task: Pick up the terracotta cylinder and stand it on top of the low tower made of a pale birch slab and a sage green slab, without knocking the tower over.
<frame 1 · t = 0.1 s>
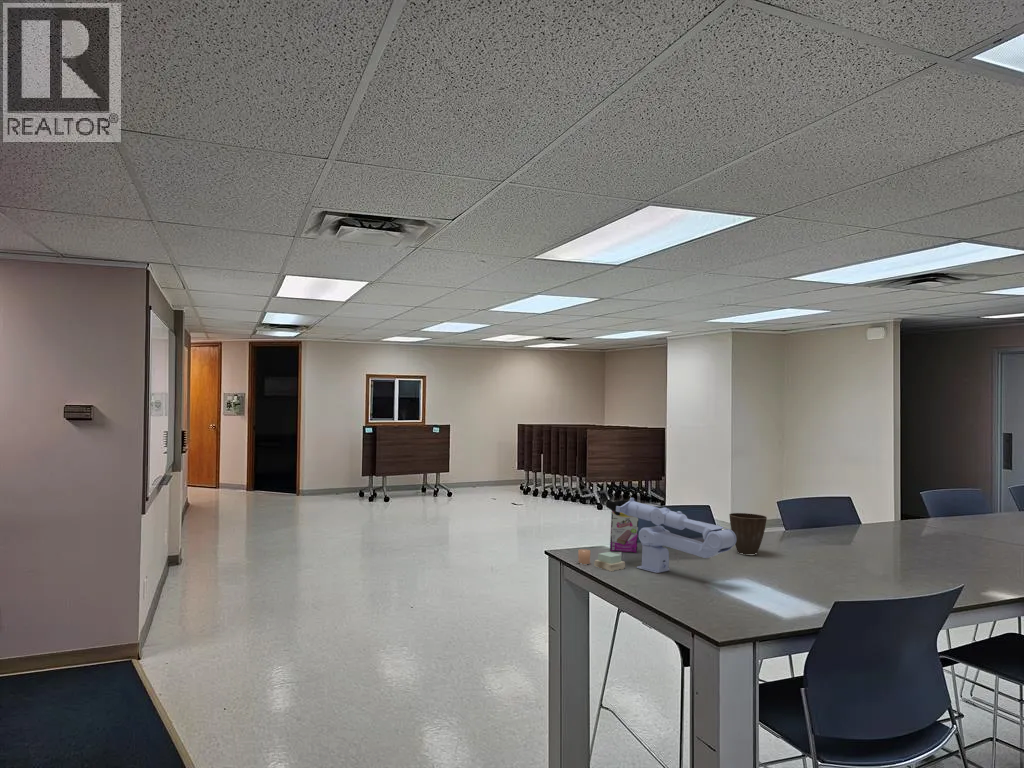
hand: (613, 503, 266), 22 cm above the table, tool horizontal, fingers open, 7 cm apart
tower base: (609, 569, 251), on the table, touching tower top
tower top: (609, 561, 251), point 2 cm above the table, touching tower base
candy bar box: (623, 551, 281), on the table
terracotta cylinder: (584, 563, 256), on the table
plant pot: (746, 554, 285), on the table
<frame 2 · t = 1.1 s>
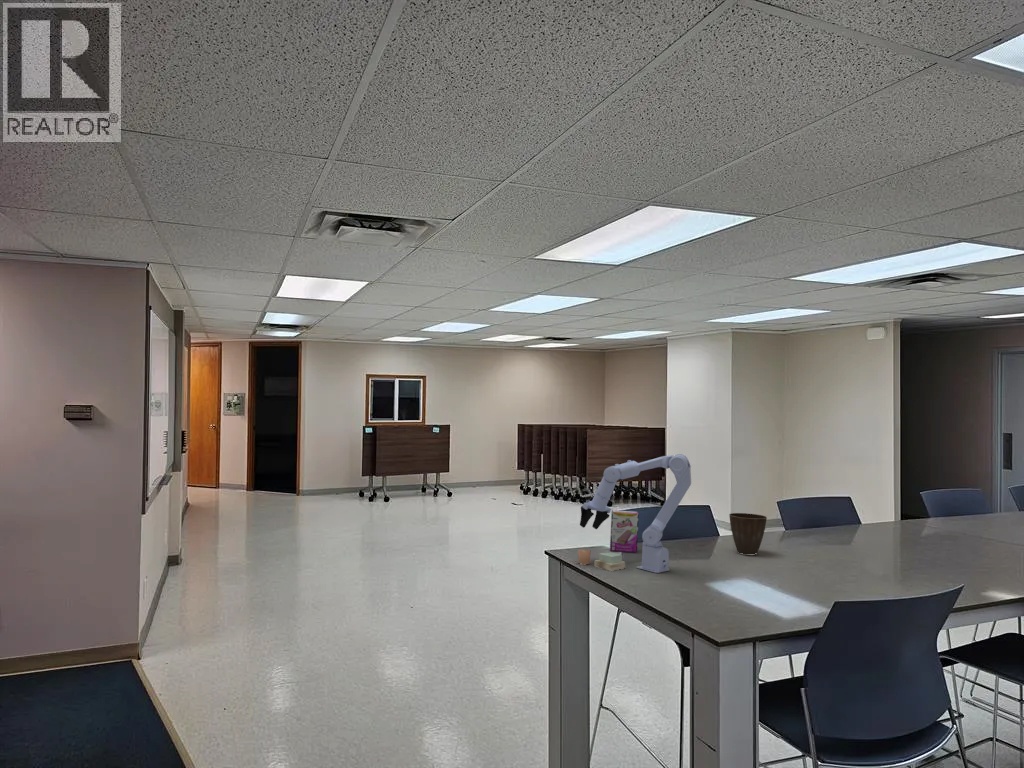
hand: (588, 527, 260), 13 cm above the table, tool tilted 20°, fingers open, 7 cm apart
nothing on the table moved.
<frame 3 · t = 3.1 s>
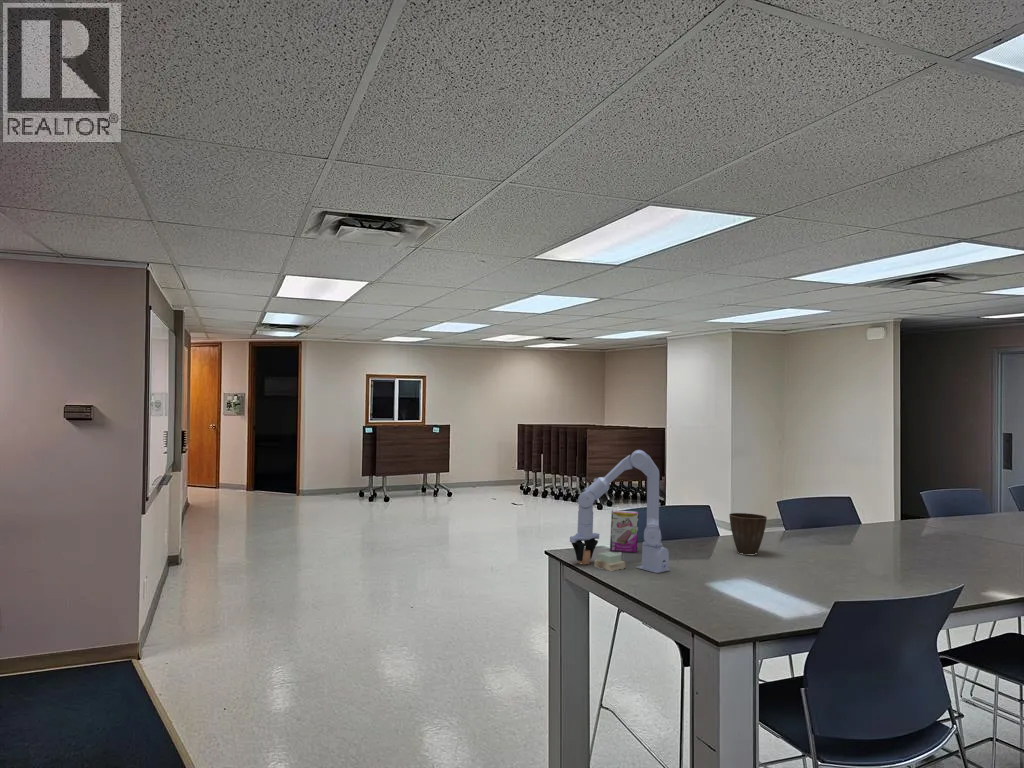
hand: (584, 559, 256), 1 cm above the table, tool pointing down, fingers closed on terracotta cylinder, 5 cm apart
terracotta cylinder: (583, 563, 256), on the table, touching gripper
everything else where it was.
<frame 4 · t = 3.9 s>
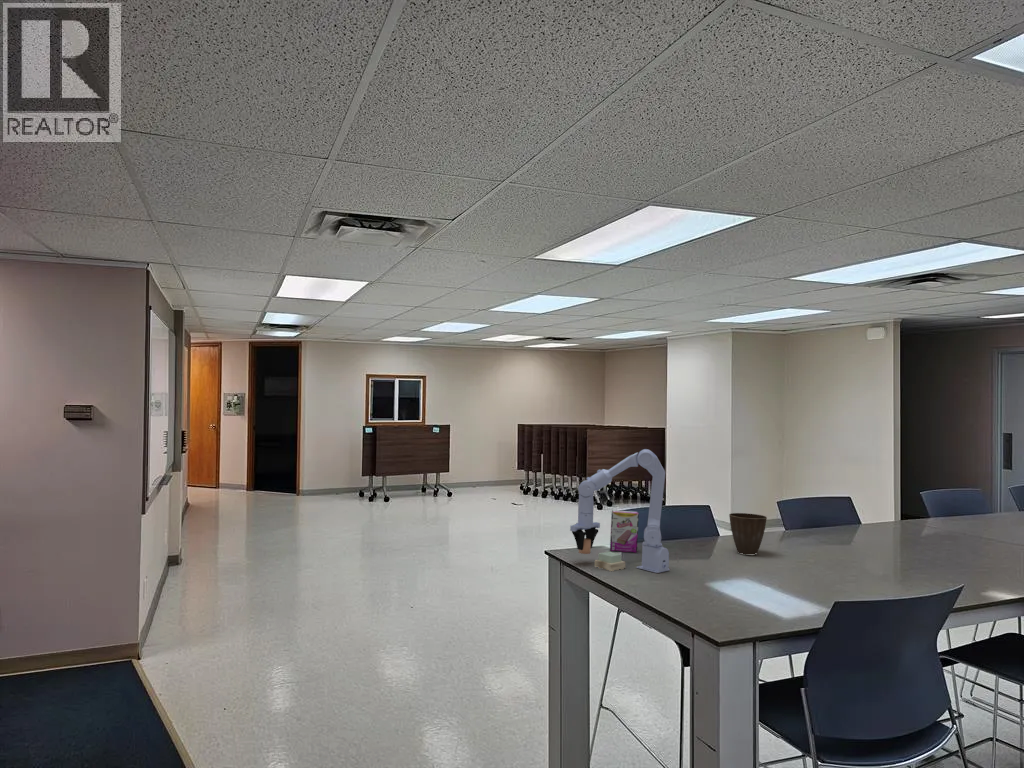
hand: (584, 548, 256), 6 cm above the table, tool pointing down, fingers closed on terracotta cylinder, 5 cm apart
terracotta cylinder: (584, 552, 256), point 4 cm above the table, touching gripper
everything else where it was.
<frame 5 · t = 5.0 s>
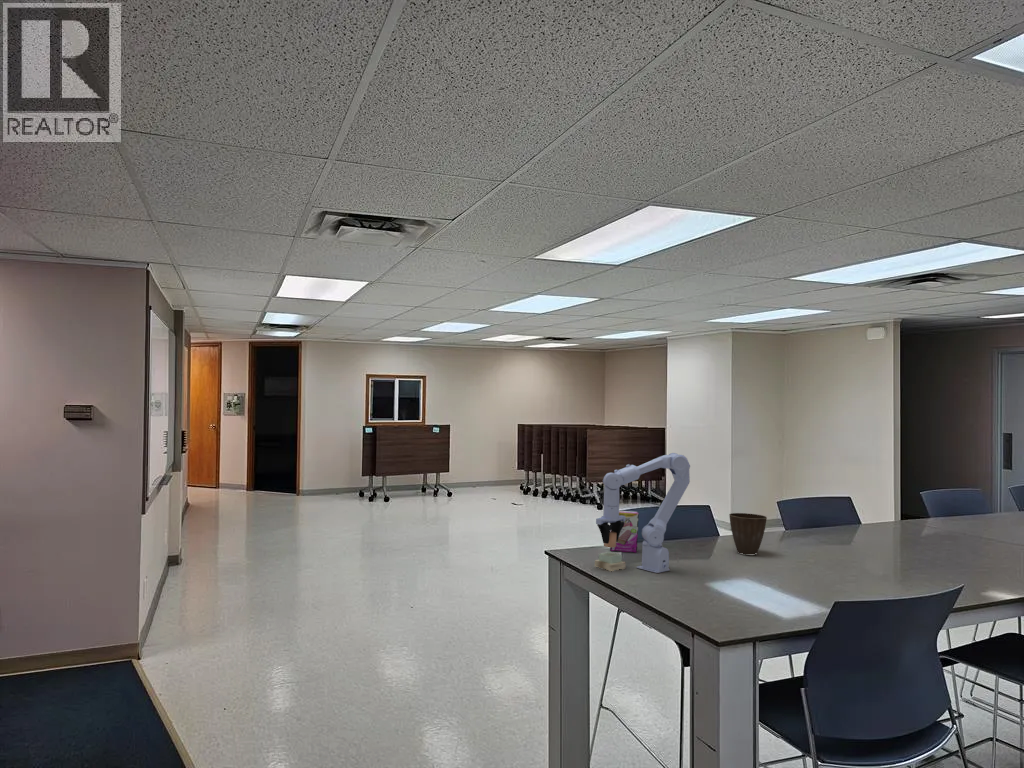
hand: (610, 542, 251), 9 cm above the table, tool pointing down, fingers closed on terracotta cylinder, 5 cm apart
terracotta cylinder: (610, 546, 251), point 8 cm above the table, touching gripper
everything else where it was.
when the fingers open (8 cm above the table, at t = 5.8 s): terracotta cylinder drops 2 cm, resting on tower top.
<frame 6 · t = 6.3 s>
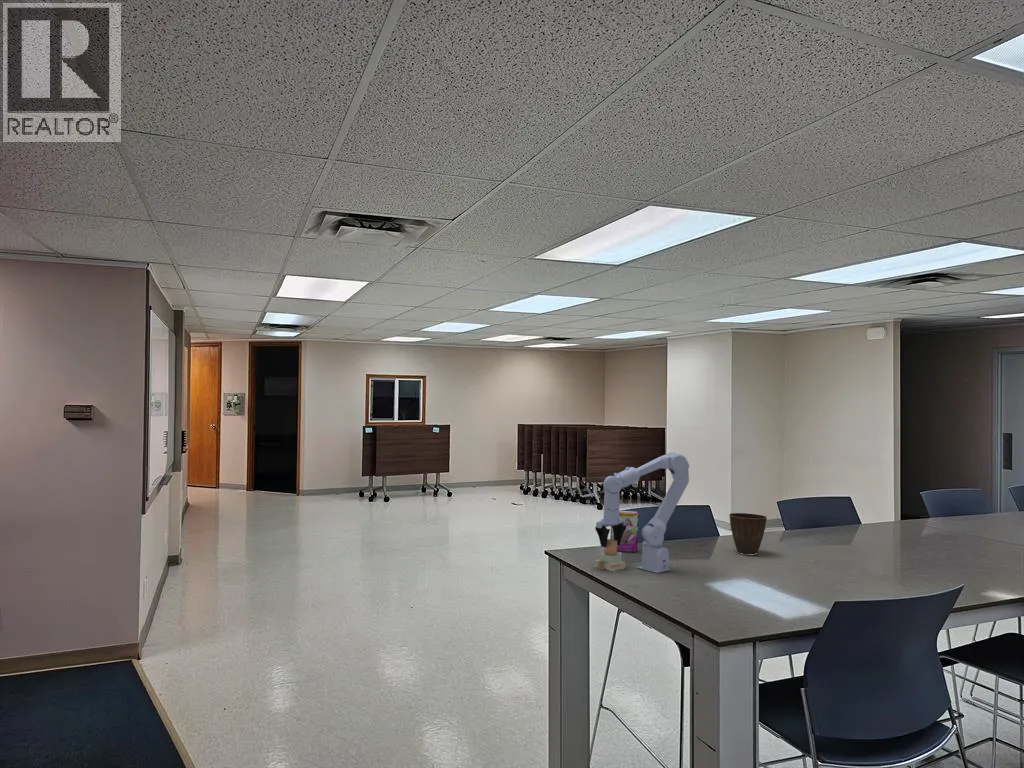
hand: (610, 545, 251), 8 cm above the table, tool pointing down, fingers open, 7 cm apart
tower base: (610, 569, 251), on the table
tower top: (610, 560, 251), point 3 cm above the table, touching terracotta cylinder
terracotta cylinder: (610, 553, 251), point 5 cm above the table, touching tower top
everything else where it was.
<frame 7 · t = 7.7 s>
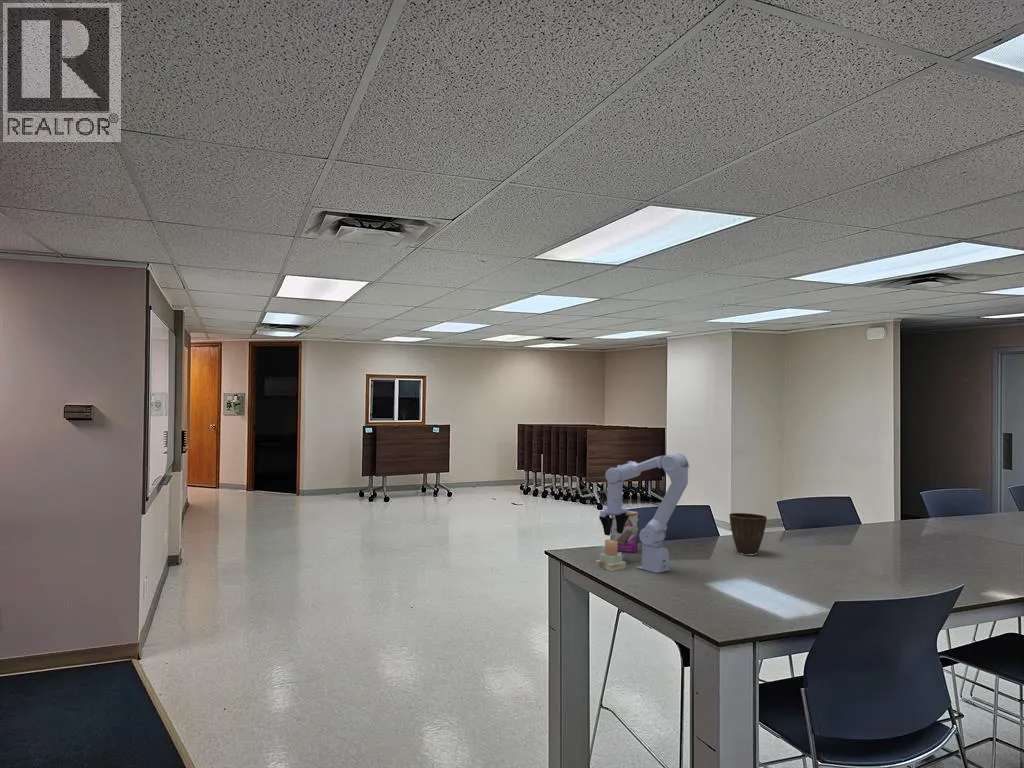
hand: (613, 534, 262), 10 cm above the table, tool pointing down, fingers open, 7 cm apart
tower base: (610, 569, 251), on the table, touching tower top
tower top: (610, 561, 251), point 2 cm above the table, touching tower base
terracotta cylinder: (610, 554, 251), point 5 cm above the table
everything else where it was.
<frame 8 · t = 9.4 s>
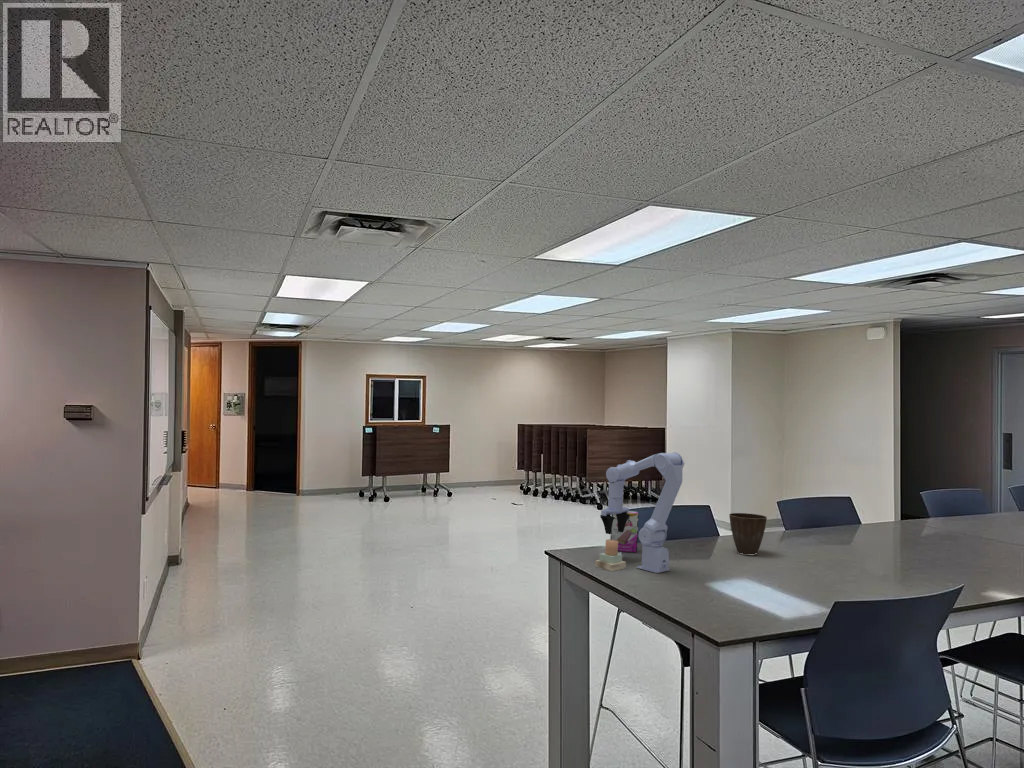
hand: (614, 532, 265), 10 cm above the table, tool pointing down, fingers open, 7 cm apart
tower top: (610, 561, 251), point 2 cm above the table, touching terracotta cylinder, tower base
terracotta cylinder: (611, 554, 251), point 5 cm above the table, touching tower top
everything else where it was.
at the end: terracotta cylinder 0.1 cm off-centre on the tower base, point 5.5 cm above the tower base's base; tower top 0.0 cm off-centre on the tower base, point 3.0 cm above the tower base's base; terracotta cylinder tilted 1° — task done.
